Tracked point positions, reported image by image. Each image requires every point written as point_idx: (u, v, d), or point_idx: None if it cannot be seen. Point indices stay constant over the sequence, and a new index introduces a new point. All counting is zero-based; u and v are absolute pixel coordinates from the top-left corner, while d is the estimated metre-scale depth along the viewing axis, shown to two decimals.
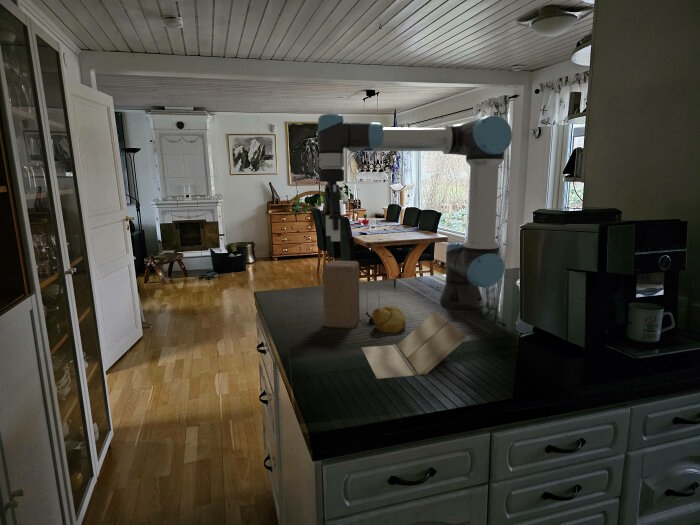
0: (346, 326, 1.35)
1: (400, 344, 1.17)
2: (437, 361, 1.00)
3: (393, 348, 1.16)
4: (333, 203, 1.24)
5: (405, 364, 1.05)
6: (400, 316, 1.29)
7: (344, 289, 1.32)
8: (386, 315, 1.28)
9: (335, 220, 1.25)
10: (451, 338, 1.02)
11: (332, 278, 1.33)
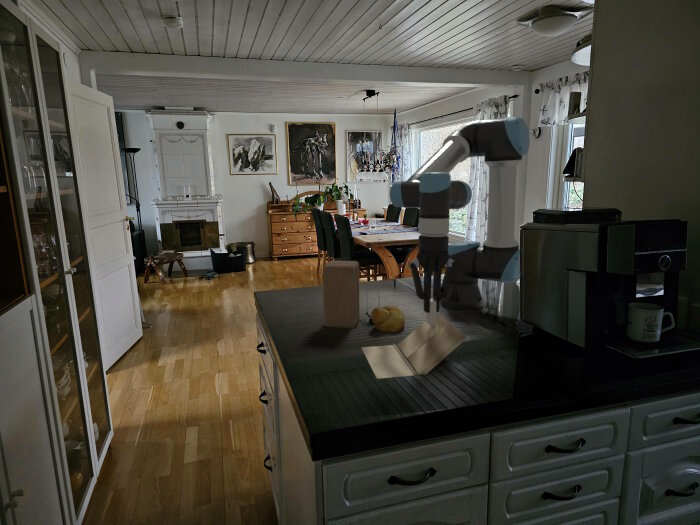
0: (346, 326, 1.35)
1: (400, 344, 1.17)
2: (437, 361, 1.00)
3: (393, 348, 1.16)
4: (414, 283, 1.11)
5: (405, 364, 1.05)
6: (399, 315, 1.30)
7: (344, 289, 1.32)
8: (384, 314, 1.29)
9: (424, 301, 1.12)
10: (451, 338, 1.02)
11: (332, 278, 1.33)
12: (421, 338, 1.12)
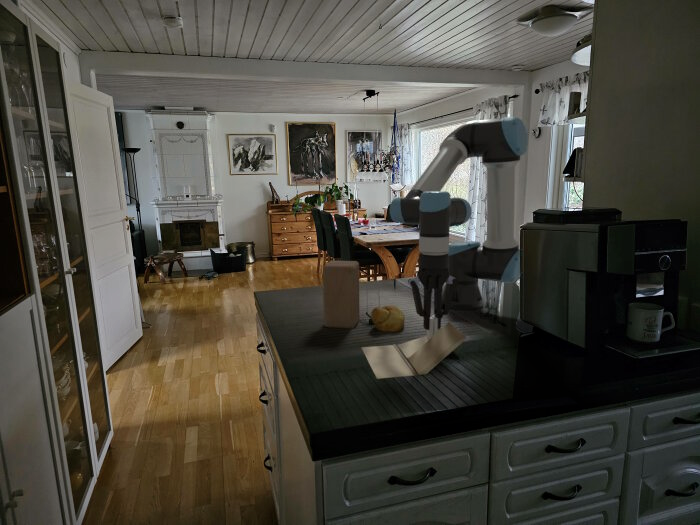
0: (346, 326, 1.35)
1: (401, 345, 1.17)
2: (437, 361, 1.00)
3: (393, 348, 1.16)
4: (414, 300, 1.12)
5: (405, 364, 1.05)
6: (399, 315, 1.30)
7: (344, 289, 1.32)
8: (384, 314, 1.29)
9: (424, 318, 1.13)
10: (451, 338, 1.02)
11: (332, 278, 1.33)
12: None
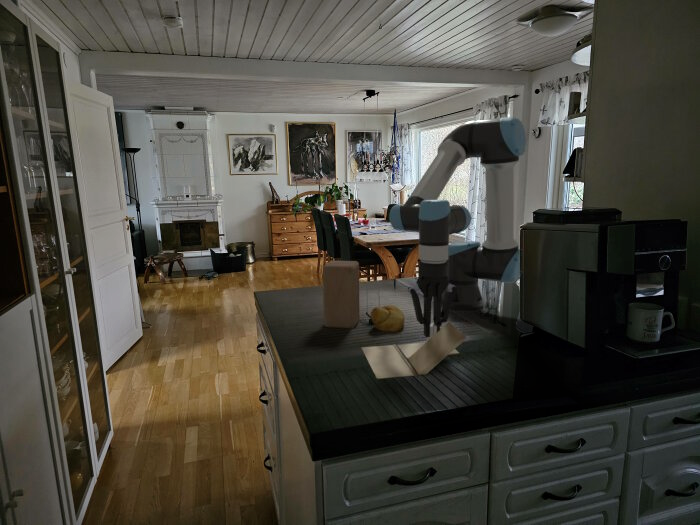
0: (346, 326, 1.35)
1: (401, 346, 1.17)
2: (437, 361, 1.00)
3: (393, 348, 1.16)
4: (414, 308, 1.13)
5: (405, 364, 1.05)
6: (398, 315, 1.30)
7: (344, 289, 1.32)
8: (384, 314, 1.29)
9: (424, 325, 1.13)
10: (451, 338, 1.02)
11: (332, 278, 1.33)
12: None
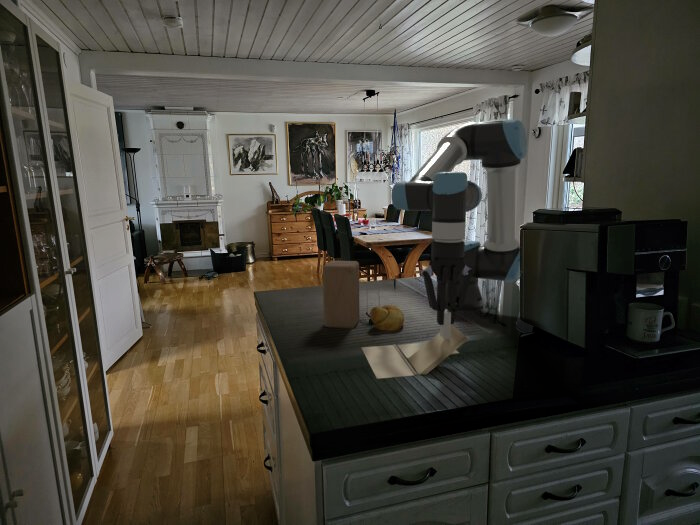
0: (346, 326, 1.35)
1: (401, 346, 1.17)
2: (437, 362, 1.00)
3: (393, 348, 1.16)
4: (427, 293, 1.02)
5: (405, 364, 1.05)
6: (397, 315, 1.31)
7: (344, 289, 1.32)
8: (383, 313, 1.30)
9: (437, 312, 1.03)
10: (452, 339, 1.02)
11: (332, 278, 1.33)
12: None
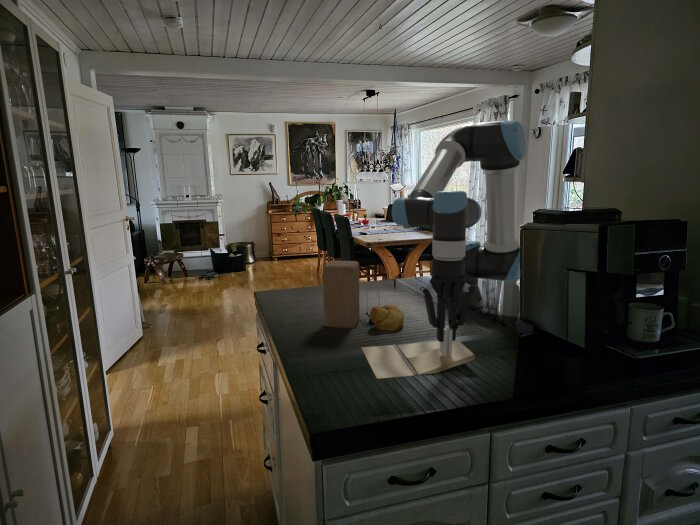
0: (346, 326, 1.35)
1: (401, 346, 1.17)
2: (440, 369, 1.01)
3: (393, 348, 1.16)
4: (427, 310, 1.03)
5: (405, 364, 1.05)
6: (397, 315, 1.31)
7: (344, 289, 1.32)
8: (383, 313, 1.30)
9: (437, 329, 1.03)
10: (459, 354, 1.03)
11: (332, 278, 1.33)
12: (426, 351, 1.13)
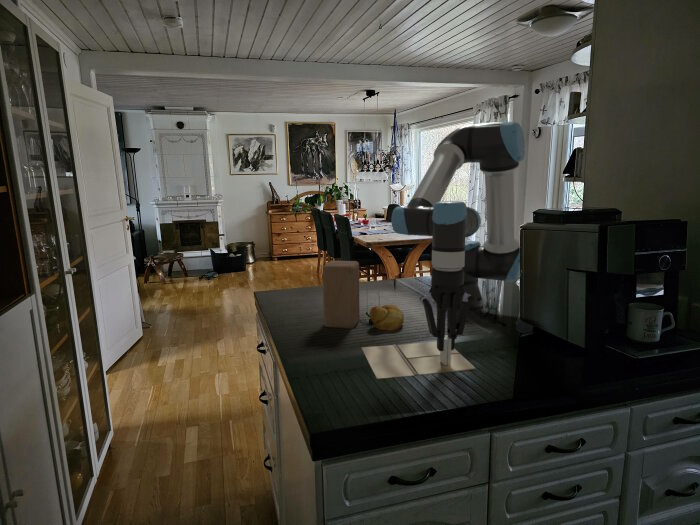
0: (346, 326, 1.35)
1: (401, 346, 1.17)
2: None
3: (393, 348, 1.16)
4: (427, 319, 1.03)
5: (405, 364, 1.05)
6: (397, 315, 1.31)
7: (344, 289, 1.32)
8: (382, 313, 1.30)
9: (437, 338, 1.04)
10: (460, 365, 1.04)
11: (332, 278, 1.33)
12: (426, 351, 1.13)
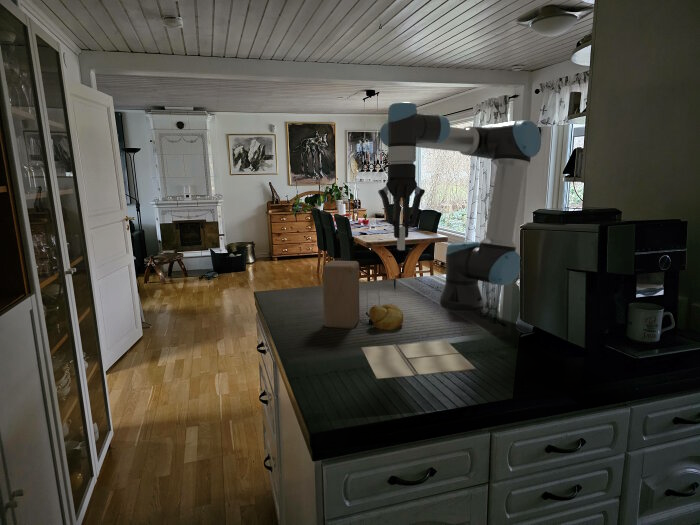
0: (346, 326, 1.35)
1: (401, 346, 1.17)
2: None
3: (393, 348, 1.16)
4: None
5: (405, 364, 1.05)
6: (396, 314, 1.31)
7: (344, 289, 1.32)
8: (382, 312, 1.31)
9: (394, 227, 1.20)
10: (460, 365, 1.04)
11: (332, 278, 1.33)
12: (426, 351, 1.13)
